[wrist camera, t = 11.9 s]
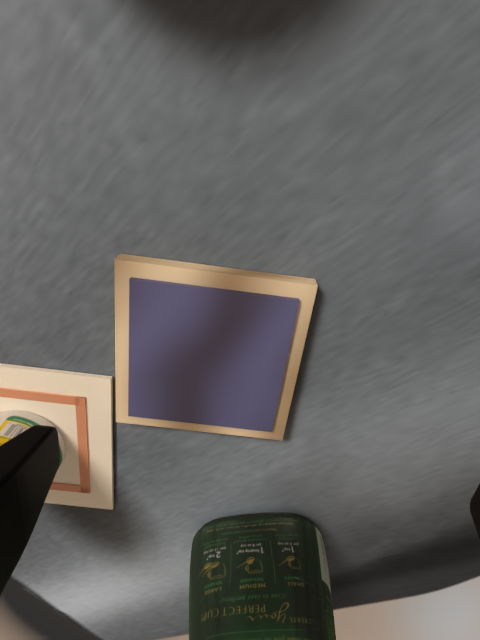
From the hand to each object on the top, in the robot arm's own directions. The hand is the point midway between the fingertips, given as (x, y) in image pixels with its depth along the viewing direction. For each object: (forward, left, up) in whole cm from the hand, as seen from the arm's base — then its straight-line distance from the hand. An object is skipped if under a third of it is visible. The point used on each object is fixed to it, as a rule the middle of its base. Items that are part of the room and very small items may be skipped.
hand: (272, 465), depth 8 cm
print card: (+13, +13, -13) cm, 22 cm away
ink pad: (+2, +5, -13) cm, 14 cm away
